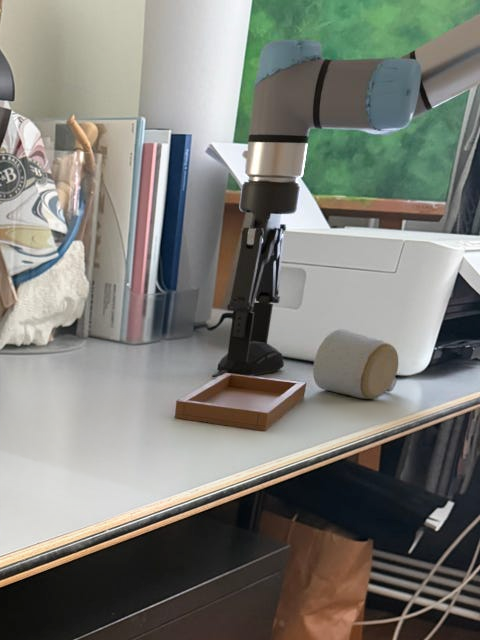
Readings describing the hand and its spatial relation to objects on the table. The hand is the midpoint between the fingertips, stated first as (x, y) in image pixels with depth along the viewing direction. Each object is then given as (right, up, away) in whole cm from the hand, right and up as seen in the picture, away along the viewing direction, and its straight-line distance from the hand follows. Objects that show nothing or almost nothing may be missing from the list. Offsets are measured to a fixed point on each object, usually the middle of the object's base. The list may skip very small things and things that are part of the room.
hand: (246, 355), depth 133 cm
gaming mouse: (0, -2, 0) cm, 2 cm away
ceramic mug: (+11, -9, -11) cm, 18 cm away
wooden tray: (-6, -13, -20) cm, 24 cm away
